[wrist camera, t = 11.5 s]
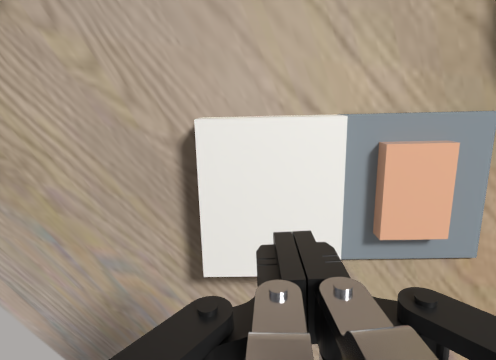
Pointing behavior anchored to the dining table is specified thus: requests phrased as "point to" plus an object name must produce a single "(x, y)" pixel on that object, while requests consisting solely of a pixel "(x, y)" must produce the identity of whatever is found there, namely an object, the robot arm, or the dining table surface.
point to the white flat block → (267, 185)
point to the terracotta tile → (415, 189)
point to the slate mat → (465, 191)
